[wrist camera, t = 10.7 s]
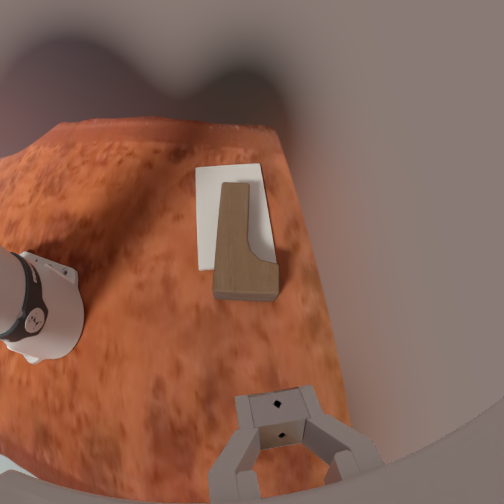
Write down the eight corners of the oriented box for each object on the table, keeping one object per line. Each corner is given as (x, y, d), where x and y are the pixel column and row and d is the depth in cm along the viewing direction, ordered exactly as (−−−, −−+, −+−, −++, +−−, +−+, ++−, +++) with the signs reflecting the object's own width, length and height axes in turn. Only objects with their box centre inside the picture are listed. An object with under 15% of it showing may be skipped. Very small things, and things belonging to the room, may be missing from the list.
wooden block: (275, 302, 42) (274, 199, 49) (280, 294, 38) (278, 184, 45) (214, 299, 42) (222, 196, 49) (212, 291, 38) (221, 180, 45)
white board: (276, 264, 45) (276, 262, 45) (199, 270, 44) (198, 269, 43) (259, 165, 53) (259, 163, 53) (195, 169, 52) (195, 167, 51)
